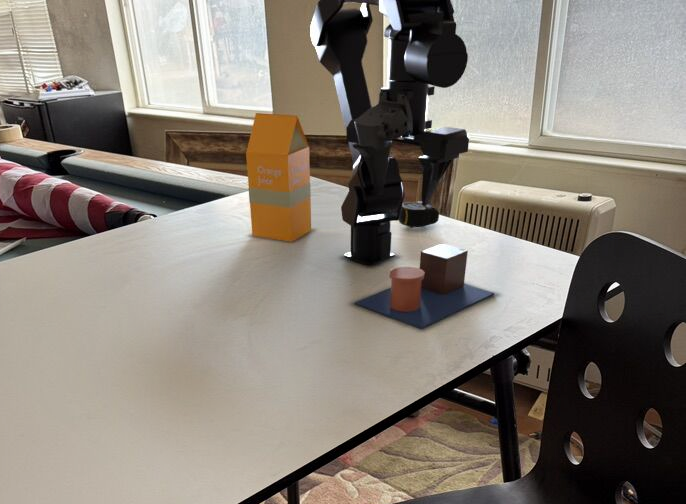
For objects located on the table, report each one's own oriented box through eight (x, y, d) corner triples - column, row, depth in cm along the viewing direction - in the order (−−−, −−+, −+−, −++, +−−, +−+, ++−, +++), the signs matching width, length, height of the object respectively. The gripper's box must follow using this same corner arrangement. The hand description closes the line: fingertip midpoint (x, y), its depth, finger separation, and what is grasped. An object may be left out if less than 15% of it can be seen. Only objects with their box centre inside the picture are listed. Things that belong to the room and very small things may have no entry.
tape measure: (439, 228, 131) (441, 207, 129) (406, 232, 130) (407, 211, 128) (423, 218, 137) (425, 198, 134) (391, 222, 135) (392, 202, 133)
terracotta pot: (381, 306, 102) (382, 272, 99) (403, 297, 105) (405, 264, 102) (406, 315, 99) (409, 281, 96) (429, 305, 102) (432, 272, 99)
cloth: (354, 304, 104) (354, 302, 104) (427, 274, 113) (427, 272, 113) (421, 329, 96) (421, 327, 96) (494, 294, 105) (494, 293, 105)
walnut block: (418, 287, 108) (420, 251, 104) (438, 278, 110) (441, 243, 107) (443, 295, 105) (447, 259, 101) (463, 286, 107) (467, 250, 104)
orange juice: (291, 242, 128) (286, 119, 115) (251, 235, 132) (242, 116, 119) (312, 230, 133) (309, 111, 121) (273, 224, 137) (266, 109, 124)
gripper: (318, 80, 96) (320, 199, 106) (422, 92, 85) (414, 224, 95) (373, 71, 102) (370, 185, 111) (477, 81, 91) (464, 206, 100)
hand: (401, 199), depth 104 cm, fingers open, 9 cm apart
